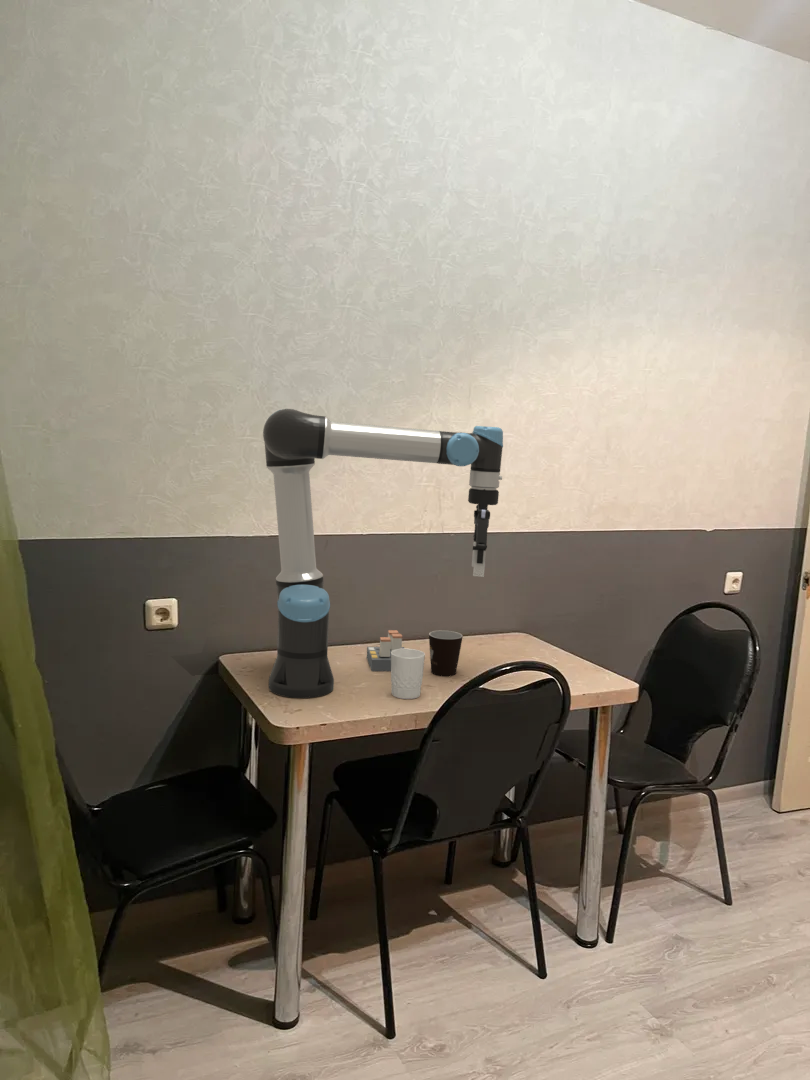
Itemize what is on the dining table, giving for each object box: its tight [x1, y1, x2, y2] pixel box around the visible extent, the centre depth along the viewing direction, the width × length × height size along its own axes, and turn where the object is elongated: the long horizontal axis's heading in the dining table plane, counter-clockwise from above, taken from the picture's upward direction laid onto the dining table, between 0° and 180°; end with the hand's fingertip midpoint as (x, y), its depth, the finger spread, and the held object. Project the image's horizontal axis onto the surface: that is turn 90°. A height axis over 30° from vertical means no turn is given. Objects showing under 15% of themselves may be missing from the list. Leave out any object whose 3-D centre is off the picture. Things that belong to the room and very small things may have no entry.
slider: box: [387, 629, 400, 649], centre depth 215 cm, size 2×2×4 cm
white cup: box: [390, 647, 426, 700], centre depth 188 cm, size 8×8×10 cm
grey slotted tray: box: [366, 646, 405, 672], centre depth 211 cm, size 10×12×3 cm
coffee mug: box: [428, 629, 464, 678], centre depth 208 cm, size 12×9×10 cm
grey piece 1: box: [379, 636, 391, 657], centre depth 207 cm, size 2×2×4 cm
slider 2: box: [391, 633, 403, 651], centre depth 211 cm, size 2×2×4 cm
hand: (477, 571), depth 206 cm, fingers open, 13 cm apart
